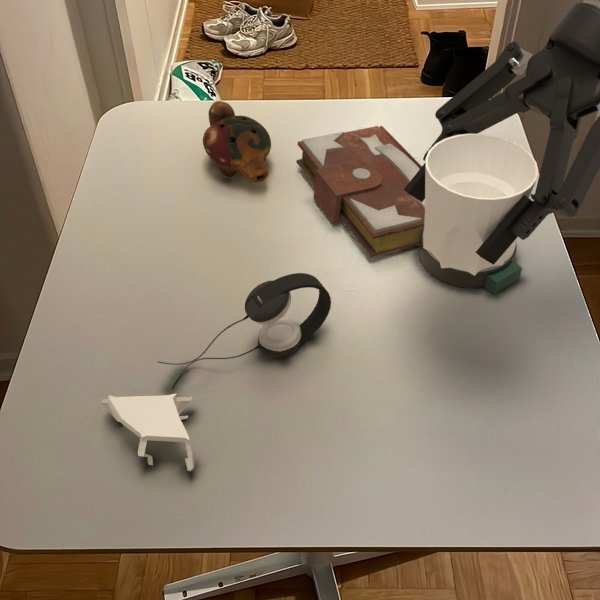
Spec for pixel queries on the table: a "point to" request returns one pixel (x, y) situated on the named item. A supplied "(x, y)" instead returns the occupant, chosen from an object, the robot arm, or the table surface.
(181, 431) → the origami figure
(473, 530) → the table surface
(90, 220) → the table surface
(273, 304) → the headphones
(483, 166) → the cup
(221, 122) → the ocarina
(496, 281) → the scale
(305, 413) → the table surface
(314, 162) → the book
